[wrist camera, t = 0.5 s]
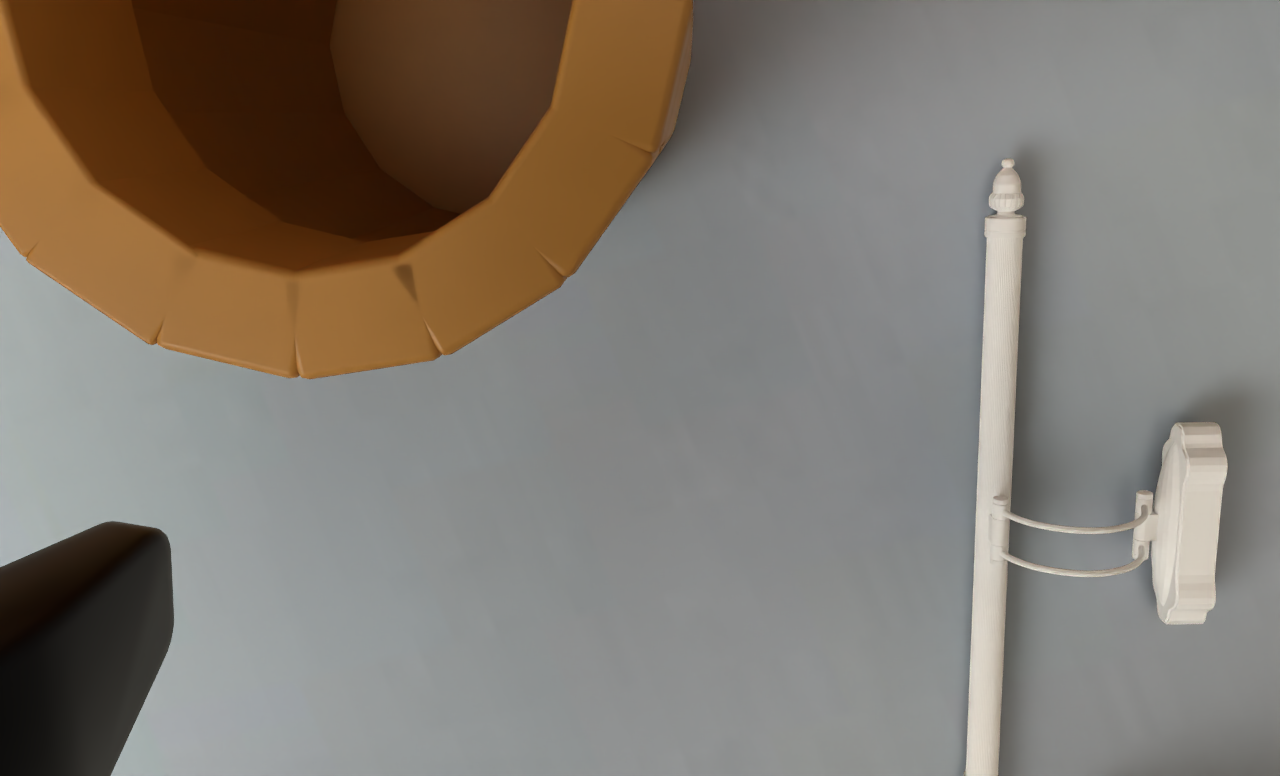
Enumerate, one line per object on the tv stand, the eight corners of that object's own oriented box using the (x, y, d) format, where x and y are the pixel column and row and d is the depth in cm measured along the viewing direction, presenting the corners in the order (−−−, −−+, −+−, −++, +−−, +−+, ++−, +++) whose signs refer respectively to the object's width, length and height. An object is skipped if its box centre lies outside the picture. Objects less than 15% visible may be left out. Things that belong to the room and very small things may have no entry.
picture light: (983, 158, 21) (1014, 163, 19) (1222, 151, 21) (1279, 155, 19) (957, 825, 25) (981, 890, 23) (1165, 825, 24) (1208, 890, 22)
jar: (640, 274, 22) (588, 452, 11) (294, 191, 22) (-145, 278, 10) (727, -96, 21) (780, -365, 9) (355, -187, 20) (-82, -581, 9)
